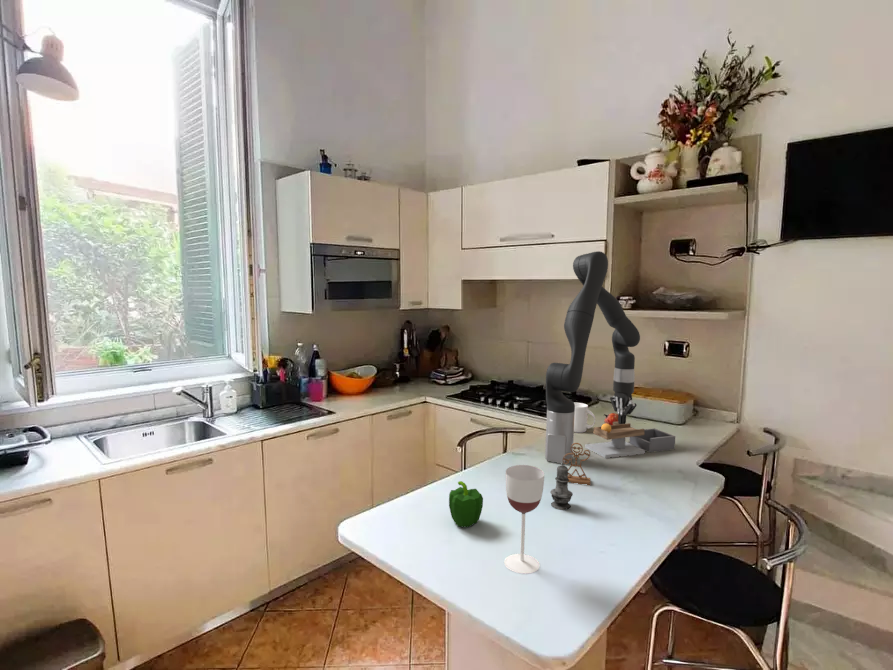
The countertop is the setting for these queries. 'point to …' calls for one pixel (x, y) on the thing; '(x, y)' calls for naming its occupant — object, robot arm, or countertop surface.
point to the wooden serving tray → (618, 431)
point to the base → (614, 448)
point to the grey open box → (654, 440)
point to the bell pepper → (465, 505)
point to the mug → (582, 418)
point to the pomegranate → (611, 418)
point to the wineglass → (523, 509)
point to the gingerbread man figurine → (579, 478)
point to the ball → (606, 427)
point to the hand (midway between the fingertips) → (621, 424)
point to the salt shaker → (561, 490)
